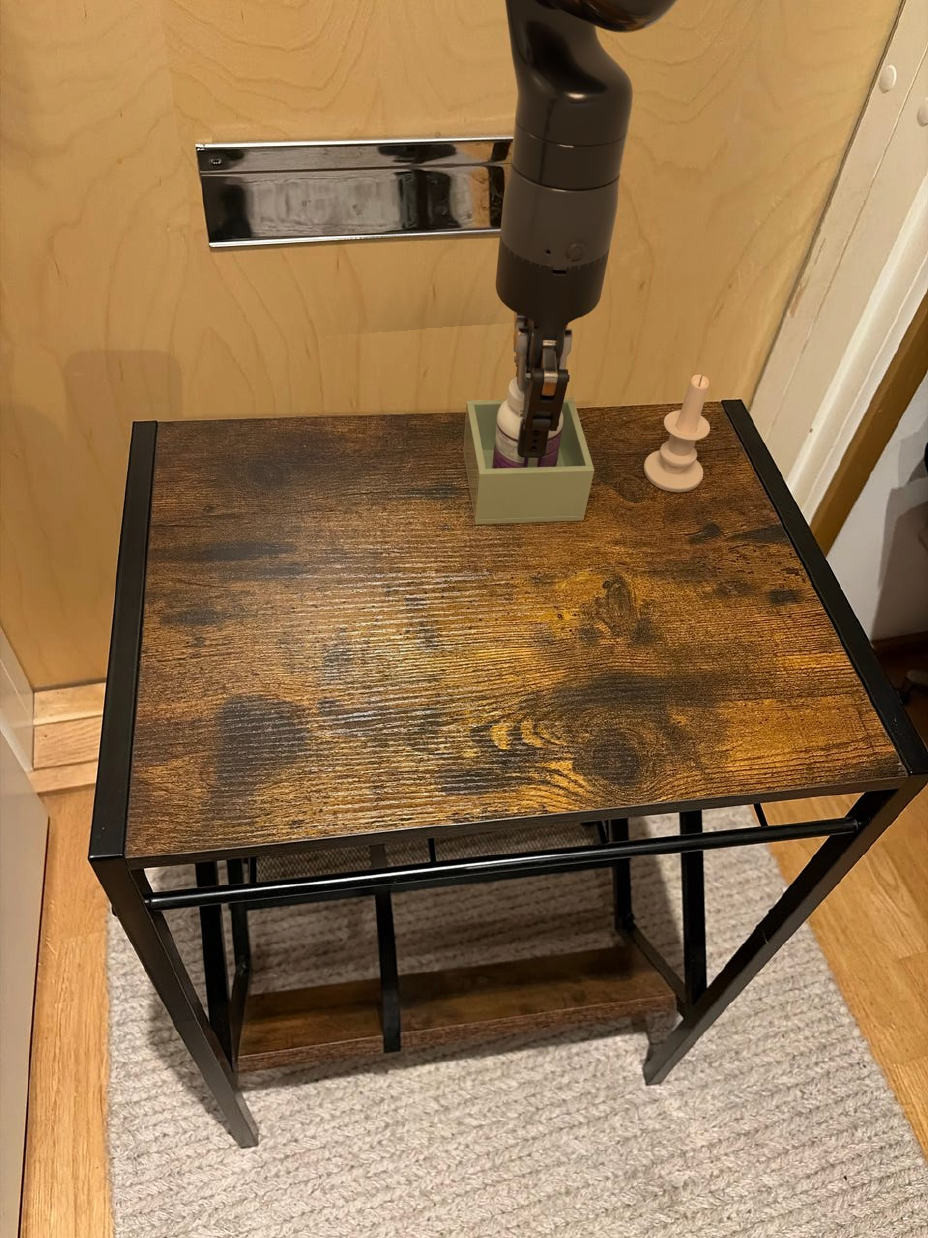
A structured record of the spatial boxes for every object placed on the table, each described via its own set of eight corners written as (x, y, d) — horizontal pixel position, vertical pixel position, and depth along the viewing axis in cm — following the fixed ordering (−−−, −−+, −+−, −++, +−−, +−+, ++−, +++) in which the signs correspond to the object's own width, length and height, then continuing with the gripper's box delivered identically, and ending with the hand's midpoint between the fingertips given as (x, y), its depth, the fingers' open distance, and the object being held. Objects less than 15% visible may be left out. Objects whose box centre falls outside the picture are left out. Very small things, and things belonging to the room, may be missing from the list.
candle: (708, 492, 82) (742, 394, 74) (650, 493, 81) (678, 395, 73) (693, 452, 85) (724, 354, 77) (637, 453, 85) (662, 355, 77)
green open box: (583, 520, 79) (594, 470, 75) (474, 524, 78) (479, 473, 73) (564, 448, 85) (573, 397, 80) (462, 451, 84) (466, 400, 79)
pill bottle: (542, 456, 83) (557, 363, 75) (561, 497, 80) (578, 404, 72) (483, 463, 82) (492, 370, 74) (499, 505, 79) (510, 412, 71)
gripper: (495, 179, 68) (479, 375, 81) (506, 288, 59) (485, 490, 72) (598, 184, 68) (565, 378, 81) (625, 293, 59) (583, 492, 72)
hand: (528, 430), depth 76 cm, fingers closed on pill bottle, 5 cm apart
